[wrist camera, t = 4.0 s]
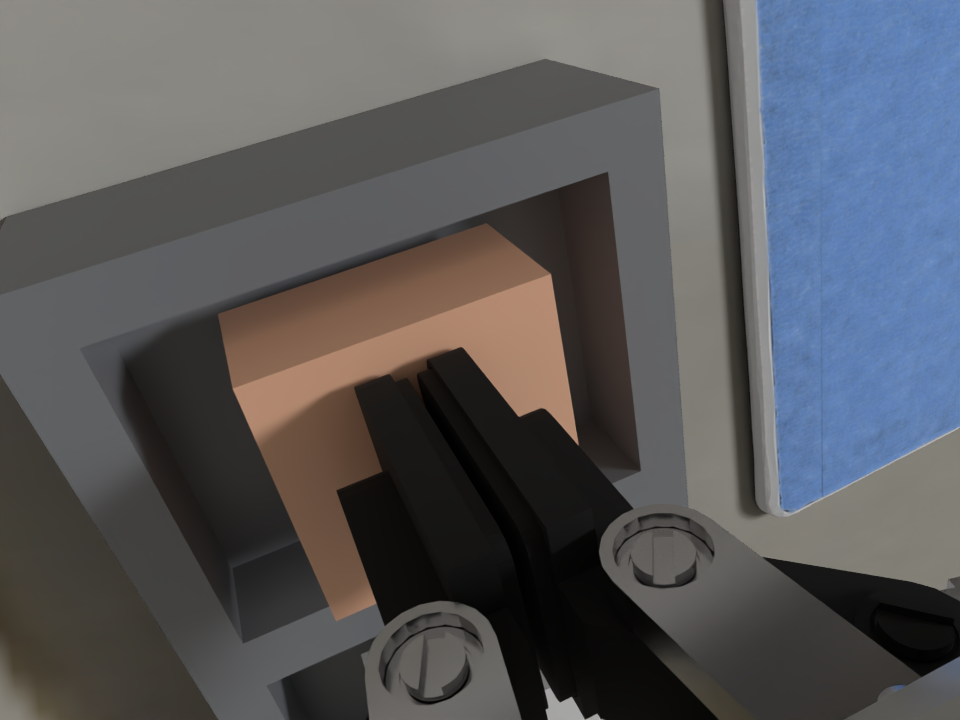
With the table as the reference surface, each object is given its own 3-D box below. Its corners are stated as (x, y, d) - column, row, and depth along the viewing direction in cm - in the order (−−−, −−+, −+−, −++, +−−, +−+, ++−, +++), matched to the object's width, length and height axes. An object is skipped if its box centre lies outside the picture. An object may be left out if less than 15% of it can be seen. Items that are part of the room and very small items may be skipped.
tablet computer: (683, -250, 14) (729, -267, 13) (1187, -388, 16) (1261, -413, 15) (741, 508, 24) (769, 534, 23) (1045, 354, 27) (1083, 372, 26)
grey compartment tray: (642, 738, 27) (711, 848, 24) (373, 878, 25) (408, 1021, 21) (545, 58, 15) (659, 88, 12) (6, 216, 13) (-42, 308, 9)
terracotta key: (529, 435, 15) (589, 510, 13) (308, 525, 14) (335, 621, 12) (486, 223, 13) (551, 274, 11) (217, 313, 12) (232, 388, 10)
